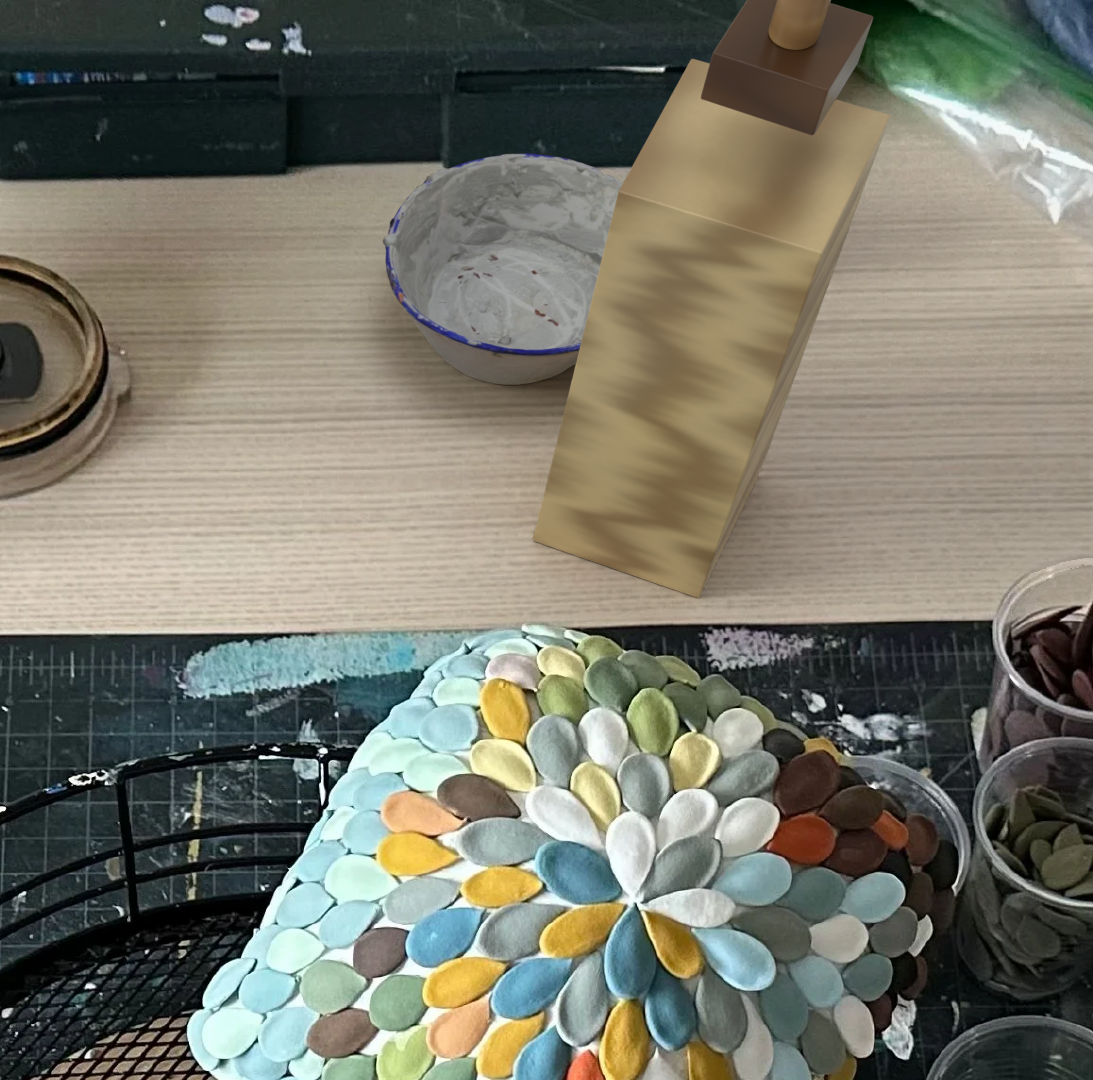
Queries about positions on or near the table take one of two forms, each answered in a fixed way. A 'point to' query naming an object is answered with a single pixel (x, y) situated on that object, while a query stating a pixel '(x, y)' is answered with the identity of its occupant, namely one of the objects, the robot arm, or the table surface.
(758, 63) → the wooden stamp
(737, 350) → the stand
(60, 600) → the table surface
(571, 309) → the bowl
